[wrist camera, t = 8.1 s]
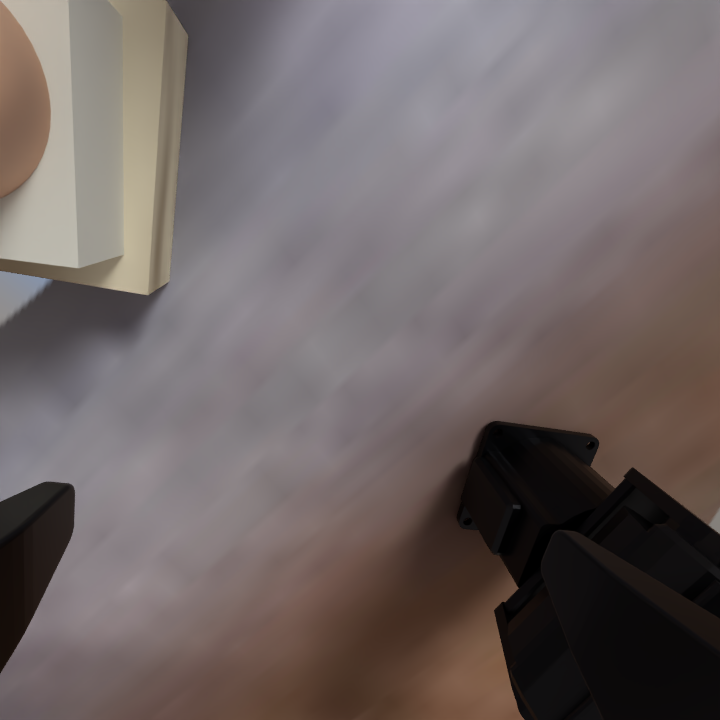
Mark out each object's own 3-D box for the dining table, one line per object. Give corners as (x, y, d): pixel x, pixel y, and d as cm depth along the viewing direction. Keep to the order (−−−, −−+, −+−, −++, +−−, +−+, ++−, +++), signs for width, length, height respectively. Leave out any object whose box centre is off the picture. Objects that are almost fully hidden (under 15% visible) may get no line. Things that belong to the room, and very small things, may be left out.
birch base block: (191, 40, 17) (166, 0, 13) (172, 279, 19) (147, 295, 16) (-93, -39, 15) (-203, -108, 11) (-70, 237, 17) (-154, 245, 14)
